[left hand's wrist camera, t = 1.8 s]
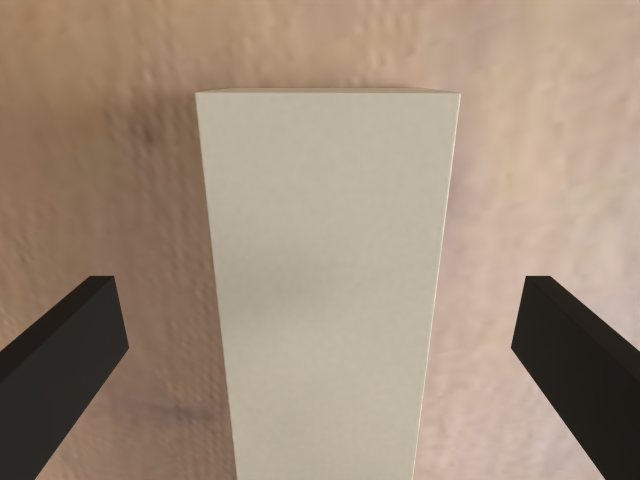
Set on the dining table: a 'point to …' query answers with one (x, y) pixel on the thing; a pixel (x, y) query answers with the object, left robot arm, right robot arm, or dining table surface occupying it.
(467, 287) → the dining table surface
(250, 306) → the beam
